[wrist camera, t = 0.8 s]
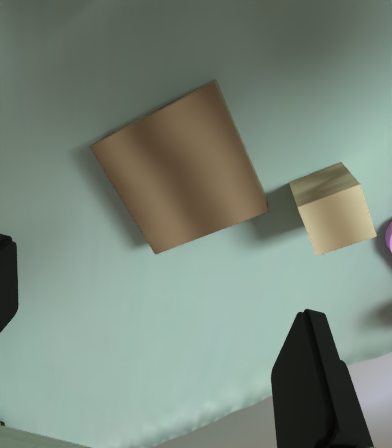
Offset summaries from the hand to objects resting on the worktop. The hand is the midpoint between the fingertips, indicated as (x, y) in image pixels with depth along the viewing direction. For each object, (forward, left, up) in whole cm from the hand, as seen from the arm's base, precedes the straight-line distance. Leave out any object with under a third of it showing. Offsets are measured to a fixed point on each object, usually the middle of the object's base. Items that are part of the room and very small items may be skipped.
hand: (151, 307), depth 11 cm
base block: (+3, +2, -25) cm, 25 cm away
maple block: (-8, +10, -24) cm, 27 cm away
